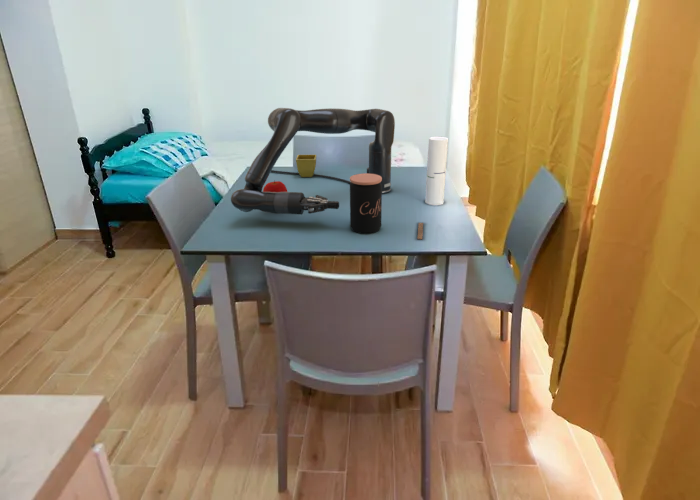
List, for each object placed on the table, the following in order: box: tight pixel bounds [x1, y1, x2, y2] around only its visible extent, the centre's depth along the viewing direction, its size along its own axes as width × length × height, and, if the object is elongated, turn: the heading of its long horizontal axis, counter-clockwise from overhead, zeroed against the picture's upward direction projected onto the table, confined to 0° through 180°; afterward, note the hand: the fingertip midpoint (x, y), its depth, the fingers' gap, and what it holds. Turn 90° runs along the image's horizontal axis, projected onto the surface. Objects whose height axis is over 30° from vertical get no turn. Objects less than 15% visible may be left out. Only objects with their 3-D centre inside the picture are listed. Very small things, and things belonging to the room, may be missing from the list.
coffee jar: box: [349, 172, 383, 235], centre depth 164 cm, size 11×11×18 cm
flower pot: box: [295, 154, 317, 178], centre depth 226 cm, size 9×9×9 cm
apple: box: [262, 180, 288, 192], centre depth 183 cm, size 9×9×12 cm
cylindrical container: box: [424, 135, 449, 206], centre depth 187 cm, size 7×7×25 cm
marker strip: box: [416, 222, 424, 241], centre depth 165 cm, size 2×14×1 cm, turn 171°
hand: (338, 205), depth 166 cm, fingers closed
